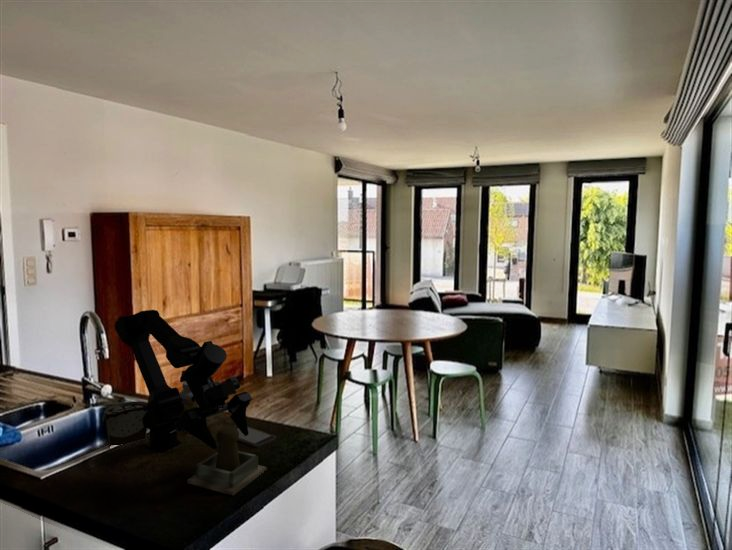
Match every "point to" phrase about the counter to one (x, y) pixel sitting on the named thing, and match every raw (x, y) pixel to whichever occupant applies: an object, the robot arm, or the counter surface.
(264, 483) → the counter surface
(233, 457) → the cork
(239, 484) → the collar holder
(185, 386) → the supplement bottle
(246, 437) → the smartphone
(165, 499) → the counter surface
